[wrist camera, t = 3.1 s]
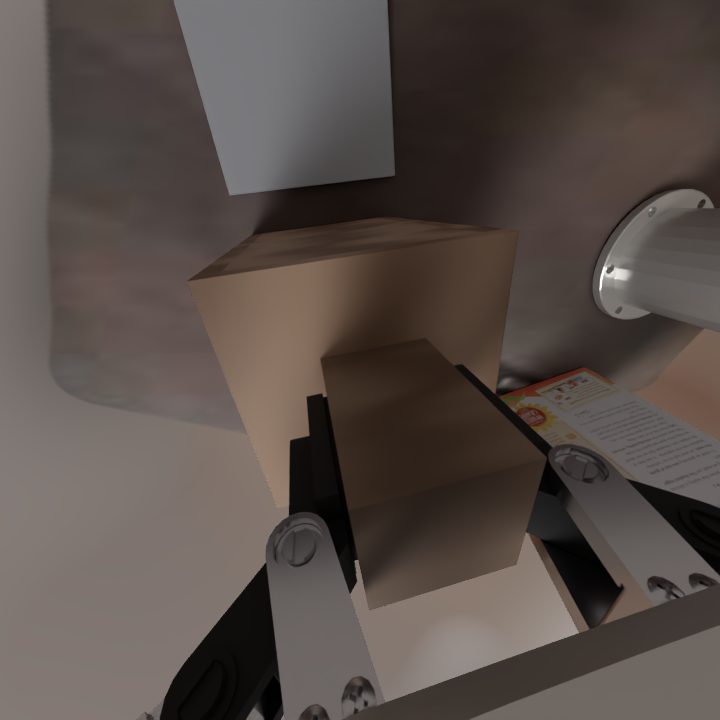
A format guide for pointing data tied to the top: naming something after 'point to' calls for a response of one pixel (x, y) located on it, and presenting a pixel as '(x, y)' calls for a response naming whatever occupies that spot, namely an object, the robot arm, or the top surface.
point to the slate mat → (293, 89)
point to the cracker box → (622, 432)
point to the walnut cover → (383, 385)
